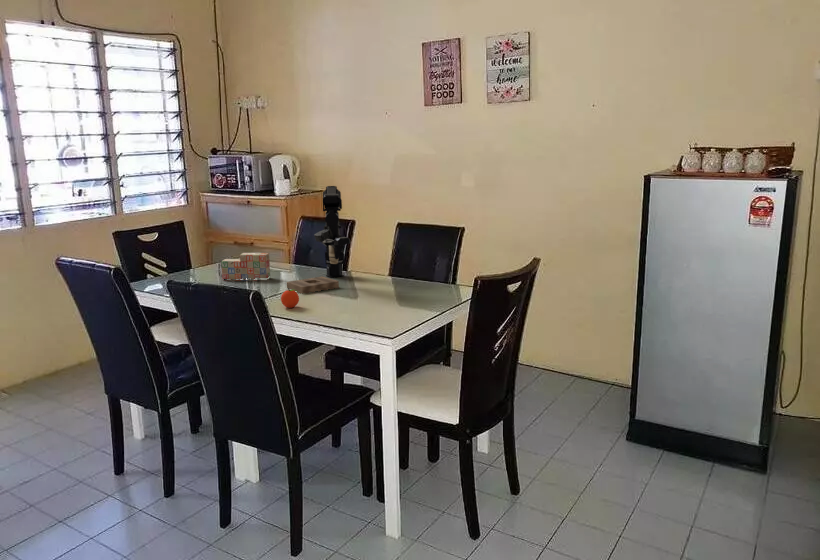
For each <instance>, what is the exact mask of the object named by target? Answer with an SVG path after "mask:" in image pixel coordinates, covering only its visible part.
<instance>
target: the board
mask: <svg viewBox="0 0 820 560" xmlns="http://www.w3.org/2000/svg"><path fill="white" fill-rule="evenodd" d="M287 288H289V289H292V290H294V291H295V290H297V291H298V292H299V294H301V293H302V294H301V295H304V294H303V293H306V294H310V293H309V292H312V293H316V292H315V291H318V292H322V291H321V290H324V291H329V290H328V289H330V290H333V289H334V288H335V289H340V283H339V280H336V279H334V278H331V277H327V276H326V277H325V276H317V277H316V276H315V277H309V278H304V279H298V280H297V279H296V280H290V281H286V289H287ZM289 289H288V290H289ZM298 292H297V293H298Z"/></svg>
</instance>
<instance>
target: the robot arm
mask: <svg viewBox="0 0 820 560" xmlns="http://www.w3.org/2000/svg"><path fill="white" fill-rule="evenodd" d="M342 203H343V200H342V193H341V191H340V190H339V189H338V187H337V186H336V185H327V186H326V187H325V189H324V191H323V192H322V212H325V216H324V217H325V218H324V220H325V225H324V226H323V229H322V230H320V231H318V232H316V233H314V238H315V239H314V240H315V242H319V243H320V244H322V245H323V246H324V247H325V248H326V249H325V252H324V256H325V257H324V258H325V265H327V266H326V275H325V276H326V277H328V276H329V277H328V278H331V277H332V278H331V279H334V277H335V278H341V277H345V275H344V274H343V264H345V262H346V261H345V253H344V251H343V248H344V247H345V246H346V245H350V244H351V239H350V238H349V237H346V236H342V234H340V229H341V228H342V225H340V219H339V218H340V214H339V212H341V210H343V204H342ZM329 245H331V246H332V247H333V248H334V254H335V259H339V260H338V263H337V264H330V260H329ZM340 276H341V277H340Z"/></svg>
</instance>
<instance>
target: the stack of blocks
mask: <svg viewBox="0 0 820 560" xmlns="http://www.w3.org/2000/svg"><path fill="white" fill-rule="evenodd" d="M220 263H221V264H220V265H221V275H222V276H221V277H222V280H223V279H242V278H244V279H246V278H247V279H248V278H251V279H255V278H268V277H269V276H270V277H271V268H270V267H271V266H270V265H271V264H270V253H269V252H242V253H241V254H239V258H225V259H223V260H221V261H220Z"/></svg>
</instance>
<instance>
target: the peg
mask: <svg viewBox="0 0 820 560" xmlns="http://www.w3.org/2000/svg"><path fill="white" fill-rule="evenodd" d="M329 260H330V264H337V263H338V260H339V259H335V254H334V248H333V247H332V246H331V245H329Z"/></svg>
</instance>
